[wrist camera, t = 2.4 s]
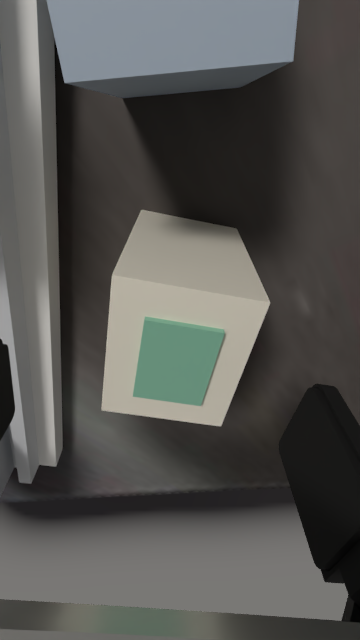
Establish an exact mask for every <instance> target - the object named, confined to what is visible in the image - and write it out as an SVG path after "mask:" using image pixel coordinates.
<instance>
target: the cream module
mask: <svg viewBox="0 0 360 640" xmlns="http://www.w3.org/2000/svg"><path fill="white" fill-rule="evenodd" d="M269 305H270V301H269V299H268V296H267V294H266V292H265V290H264V288H263V285H262V283H261V281H260V279H259V276H258V274H257V272H256V270H255V268H254V265H253V263H252V261H251V259H250V257H249V254H248V252H247V250H246V248H245V246H244V243H243V241H242V239H241V237H240V235H239V232H238V230H237V228H232V227H227V226H222V225H217V224H212V223H207V222H202V221H196V220H191V219H186V218H181V217H176V216H171V215H166V214H161V213H156V212H151V211H145V210H141V212H140V214H139V216H138V218H137V221H136V223H135V225H134V227H133V230H132V232H131V234H130V236H129V238H128V241H127V243H126V245H125V247H124V249H123V252H122V254H121V256H120V258H119V261H118V263H117V265H116V267H115V269H114V272H113V274H112V282H111V294H110V307H109V320H108V332H107V345H106V358H105V371H104V383H103V396H102V409H101V410H103V411H110V412H118V413H125V414H132V415H140V416H147V417H155V418H162V419H169V420H177V421H184V422H191V423H199V424H206V425H213V426H221V425H222V423H223V420H224V418H225V415H226V413H227V410H228V408H229V405H230V403H231V400H232V398H233V395H234V393H235V390H236V388H237V385H238V383H239V380H240V378H241V375H242V373H243V370H244V368H245V365H246V363H247V360H248V358H249V355H250V353H251V350H252V348H253V345H254V342H255V340H256V337H257V335H258V332H259V330H260V327H261V325H262V322H263V320H264V317H265V315H266V312H267V310H268V307H269Z"/></svg>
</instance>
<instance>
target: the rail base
mask: <svg viewBox="0 0 360 640" xmlns="http://www.w3.org/2000/svg"><path fill="white" fill-rule="evenodd" d="M0 339H1V340H2V342H3V344H7V345H8V349H9V357H10V366H11V375H12V384H13V393H14V402H15V413H14V417H13V419H12V421H11V423H10V425H9V426H8V431H9V437H10V443H11V449H12V455H13V461H14V467H16V468H17V472H18V478H19V482H20V483H29V484H31V483H32V481H33V478H34V476H35V474H36V471H37V469H38V466H39V465H45V466H54V467H56V466H57V463H58V460H59V458H60V455H61V452H62V449H63V432H62V384H61V337H60V289H59V242H58V195H57V147H56V100H55V52H54V33H53V28H52V23H51V19H50V14H49V10H48V5H47V0H0Z"/></svg>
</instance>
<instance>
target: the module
mask: <svg viewBox="0 0 360 640" xmlns="http://www.w3.org/2000/svg"><path fill="white" fill-rule="evenodd" d="M298 4H299V0H47V5H48V10H49V14H50V19H51V23H52V28H53V33H54V37H55V42H56V46H57V51H58V55H59V60H60V65H61V69H62V74H63V78H64V83H66V84H70V85H74V86H78V87H81V88H85V89H89V90H93V91H97V92H101V93H104V94H108V95H112V96H116V97H120V98H132V97H143V96H153V95H164V94H175V93H186V92H197V91H208V90H219V89H230V88H240V87H242V86H244V85H247V84H249V83H251V82H253V81H255V80H257V79H259V78H261V77H263V76H265V75H267V74H269V73H271V72H273V71H275V70H277V69H279V68H281V67H283V66H285V65H287V64H289V63H291V62H293V57H294V47H295V36H296V25H297V14H298Z"/></svg>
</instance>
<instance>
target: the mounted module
mask: <svg viewBox="0 0 360 640" xmlns="http://www.w3.org/2000/svg"><path fill="white" fill-rule="evenodd" d="M13 469H14V461H13V455H12V449H11V443H10V437H9V431H8V428H7V430H6V432H5V434H4V435H3V437H2V439H1V441H0V496H1V494H2V492H3V490H4V488H5V486H6V484H7V482H8V480H9V478H10V476H11V474H12V471H13Z"/></svg>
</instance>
